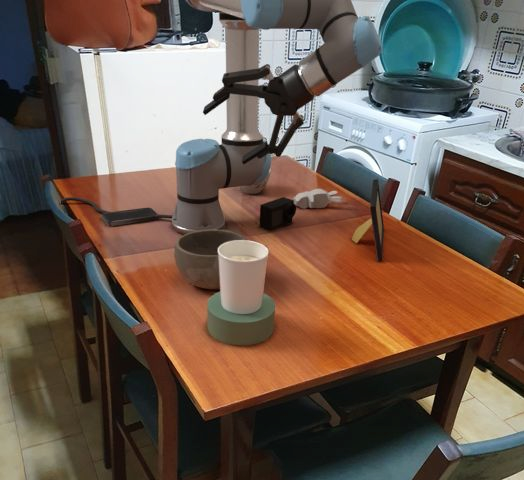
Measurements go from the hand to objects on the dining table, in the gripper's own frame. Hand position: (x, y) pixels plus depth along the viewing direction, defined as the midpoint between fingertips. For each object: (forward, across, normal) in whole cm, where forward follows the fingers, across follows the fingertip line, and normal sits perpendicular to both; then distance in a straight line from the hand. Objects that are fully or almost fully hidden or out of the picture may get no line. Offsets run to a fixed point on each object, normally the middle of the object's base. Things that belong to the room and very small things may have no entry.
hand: (224, 136), depth 120 cm
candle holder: (+6, -19, +33) cm, 39 cm away
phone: (+47, -11, -19) cm, 52 cm away
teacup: (+26, -37, -51) cm, 68 cm away
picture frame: (-8, -52, -13) cm, 54 cm away
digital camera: (+13, -38, -21) cm, 45 cm away
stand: (+9, -23, +34) cm, 42 cm away
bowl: (+19, -22, +15) cm, 33 cm away
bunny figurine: (+6, -49, -40) cm, 63 cm away
